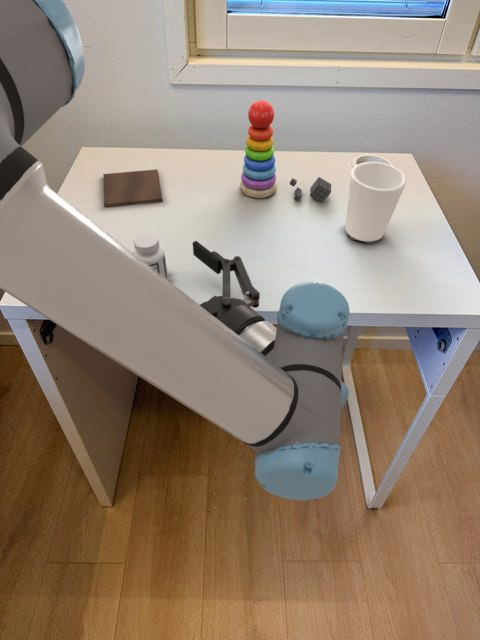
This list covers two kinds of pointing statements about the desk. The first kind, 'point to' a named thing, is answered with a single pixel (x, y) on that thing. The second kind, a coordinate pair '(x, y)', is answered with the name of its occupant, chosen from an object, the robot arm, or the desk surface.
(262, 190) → the stacking toy
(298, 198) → the building blocks
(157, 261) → the pill bottle
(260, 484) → the robot arm
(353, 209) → the cup
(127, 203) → the coaster
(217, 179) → the desk surface
